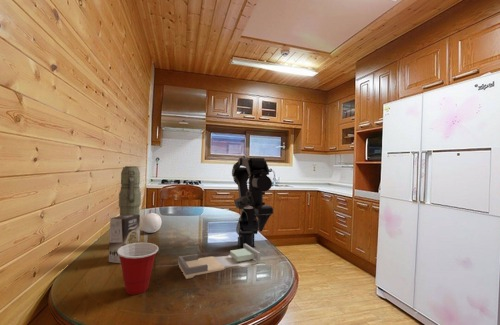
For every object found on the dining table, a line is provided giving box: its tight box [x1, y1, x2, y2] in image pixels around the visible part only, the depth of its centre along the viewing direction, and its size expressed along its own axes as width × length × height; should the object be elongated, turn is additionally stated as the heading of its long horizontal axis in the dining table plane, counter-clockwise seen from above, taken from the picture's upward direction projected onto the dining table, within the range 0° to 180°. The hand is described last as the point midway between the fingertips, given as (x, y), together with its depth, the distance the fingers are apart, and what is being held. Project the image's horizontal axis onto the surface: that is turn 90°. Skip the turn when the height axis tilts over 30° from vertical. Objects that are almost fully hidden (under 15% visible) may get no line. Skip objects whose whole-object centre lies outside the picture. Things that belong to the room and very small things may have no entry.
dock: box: [177, 253, 258, 280], centre depth 89 cm, size 26×12×3 cm, turn 118°
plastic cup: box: [117, 242, 159, 296], centre depth 70 cm, size 11×11×12 cm
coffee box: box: [108, 214, 141, 264], centre depth 94 cm, size 9×6×16 cm
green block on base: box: [229, 244, 261, 263], centre depth 94 cm, size 8×12×4 cm, turn 28°
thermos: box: [118, 165, 142, 243], centre depth 110 cm, size 9×12×35 cm
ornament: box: [140, 209, 163, 234], centre depth 131 cm, size 10×10×12 cm
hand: (255, 228), depth 97 cm, fingers open, 9 cm apart
